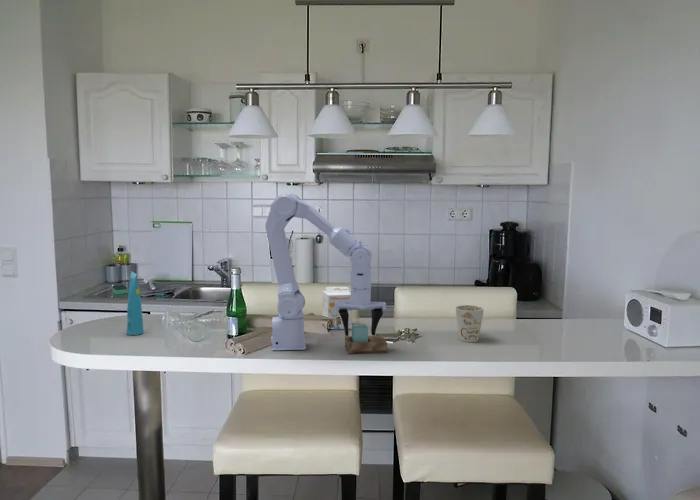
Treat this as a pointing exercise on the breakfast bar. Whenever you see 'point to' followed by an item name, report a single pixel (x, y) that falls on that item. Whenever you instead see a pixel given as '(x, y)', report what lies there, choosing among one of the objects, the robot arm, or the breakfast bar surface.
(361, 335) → the teal block
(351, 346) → the walnut base
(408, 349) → the breakfast bar surface
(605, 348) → the breakfast bar surface
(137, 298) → the tube
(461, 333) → the mug
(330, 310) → the ink box
